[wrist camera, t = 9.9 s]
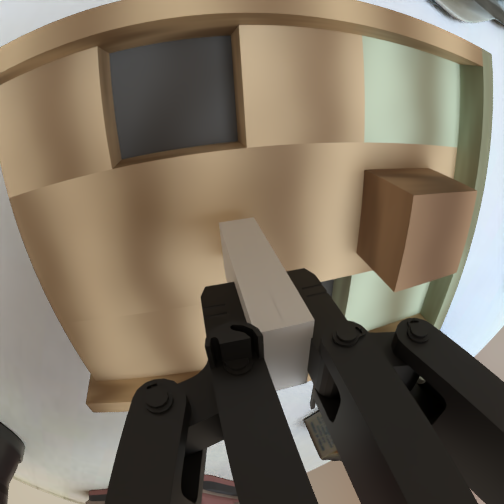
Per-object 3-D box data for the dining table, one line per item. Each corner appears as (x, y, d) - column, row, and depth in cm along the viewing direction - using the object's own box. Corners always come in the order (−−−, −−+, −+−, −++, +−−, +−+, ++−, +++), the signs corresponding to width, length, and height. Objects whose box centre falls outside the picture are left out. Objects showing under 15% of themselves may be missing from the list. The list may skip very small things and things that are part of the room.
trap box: (100, 366, 20) (93, 412, 16) (5, 73, 9) (-41, 73, 5) (410, 302, 24) (438, 333, 21) (443, 51, 13) (491, 54, 10)
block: (356, 253, 17) (394, 292, 13) (364, 169, 14) (413, 195, 11) (417, 241, 17) (456, 272, 14) (429, 168, 15) (477, 191, 12)
